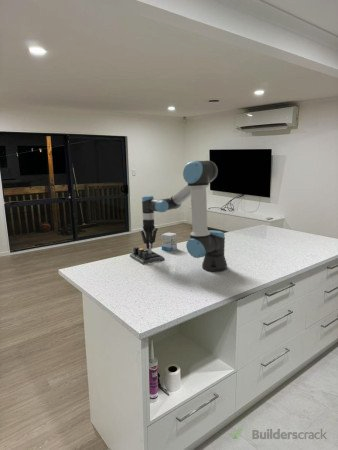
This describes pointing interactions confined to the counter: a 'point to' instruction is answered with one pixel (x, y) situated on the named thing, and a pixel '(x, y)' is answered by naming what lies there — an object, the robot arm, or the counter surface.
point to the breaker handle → (140, 252)
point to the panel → (151, 257)
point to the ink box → (169, 241)
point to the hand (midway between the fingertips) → (149, 252)
